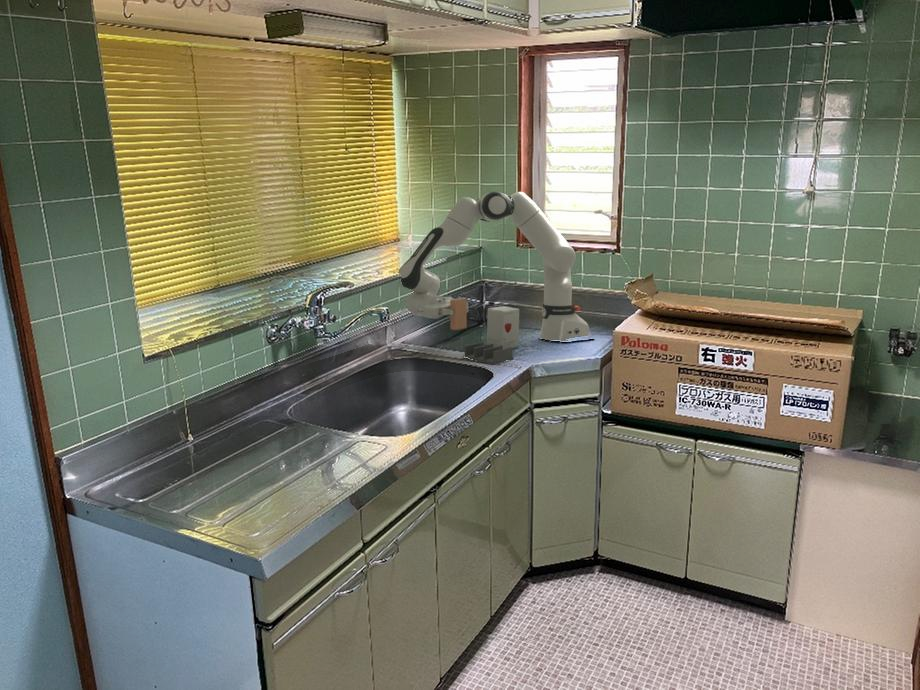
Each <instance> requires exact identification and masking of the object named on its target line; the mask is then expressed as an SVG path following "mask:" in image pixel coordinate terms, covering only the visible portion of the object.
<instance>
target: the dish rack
mask: <svg viewBox="0 0 920 690" xmlns="http://www.w3.org/2000/svg"><path fill="white" fill-rule="evenodd" d="M513 350H514V349H513V347H510V348H506V349H503V345H501V346H497V347H493V344H488V345H487V344H485V341H481V342H475V343H471V344H467V345H464V355H463V356H465V357H468V358H470V359H473V360H477V361H476V362H478V361H479V362H478V363H482V362H483V363H484V364H488V365H493V366H494V365H497V364H502V363H505V362H504V361H506V360H510V361H513V360H514V356H513ZM473 360H472V361H473ZM501 362H502V363H501ZM506 362H507V361H506ZM483 363H482V364H483Z"/></svg>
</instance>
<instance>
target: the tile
mask: <svg viewBox="0 0 920 690" xmlns="http://www.w3.org/2000/svg"><path fill="white" fill-rule="evenodd" d="M467 302H468V300H467V298H465V297H457V298H454V299H451V300H450V309H453V310H454V311H455V312H454V313H455V314H453V315H449V317H450V320H449V321H450V324H449V325H450V330H453V331H458V330H463V329H467V326H468V323H467V321H468V320H467V317H468V316H467V315H468V314H467V313H468V312H467Z"/></svg>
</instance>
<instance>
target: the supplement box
mask: <svg viewBox="0 0 920 690" xmlns="http://www.w3.org/2000/svg"><path fill="white" fill-rule="evenodd" d="M486 322H487V323H486V324H487V325H486V328H487V329H486V331H487V332H486V345H488V344H493V347H497V346H501V345H503V349H506V348H510V347H513V348H519V336H520V308H516V307H510V306H496V307H495V306H494V307H488V308H487V321H486Z"/></svg>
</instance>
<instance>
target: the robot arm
mask: <svg viewBox="0 0 920 690" xmlns="http://www.w3.org/2000/svg"><path fill="white" fill-rule="evenodd" d="M504 218H508V219H510V220H511V221H513V223H514V224H515V226H516V228H518V229H519V231H520V232H521V233H522V235H523V236H524V237H525V239H527V241H528V242H529V243H530V244H531V246H533V247H534V248H535V250H536V251H537V252H538V254H540V256H541V257H542V261H543V262H542V265H543V267H542V269H543V304H542V312H541V315H542V316H541V317H542V323H541V329H540V333H539V336H538V338H539V337H540V338H542V339H546V340H561V341H568V340H566V339H569V338H575V337H581V336H588V335H590V334H591V333H590V327H589V324H588V323H587V321H585V320H584V319H583V318H582V317H580V316H579V315H578V314H577V313H576V312H580V310H581V307H580V306H578V305H574V304H572V302H573V301H572V297H573V294H572V293H573V283H572V272H571V270H572V267H574V265H575V263H576V260H577V258H576V257H577V256H576V255H577V254H576V252H575V250H574V248H573V247H572V246H571V244H570V243H569V242H568V241H567V240H566V239H565V237H564V236H563V235H562V234H561V233H560V232H559V230H558V229H557V228H556V227H555V226H554V225H553V224H552V222H551V221H550V219H548V217H547V216H546V215H545V213H544V212H543V211H542V210H541V209H540V208H539V206H538V205H537V203H535V201H533V200H532V198H531V197H529V196H528V195H527V194H526V193H525V192H523V191H517V192H514V193H512V194H511V195H508V194H505V193H503V192H500V191H490V192H487V193H485V194H484V195H483V196H481V197H480V198H477V199H473V198H471V197H468V196H467V197H466V196H463V197H461V198H459V199H458V200H457V202H456V203H455V204H454V205H453V207H452V208H451V209H450V211H449V212H448V214H447V216H446V217H445V218H444V219H445V220H444V221H443V222H442V223H441V224H440V225H439V226H438V227H434V228H433V229H431V230H430V231H429V232H428V233H427V235H426V236H425V237H424V239H423V240H422V241H421V243H420V244H419V245H418V247H417V248H416V249H415V250H414V252H413V254H412V255H411V256H410V257H409V258H408V260H407V261H406V262H404V263H403V264H402V265H401V267H400V268H399V269H398V273H400V274H401V282H402V285H403V286H402V285H401V286H402V287H403V288H406V289H408V290H410V289H411V290H413V291H414V292H413V293H411V294H410V295H409V297H408V299H407V305H406V306H407V309H408V310H409V311H410V312H411V313H412V314H413V315H412V316H414V317H415V316H416V317H423V318H425V319H426V318H428V319H433V320H437V319H440V318H441V317H444V316H448V315H449V316H450V315H453V314H455V313H454V312H455V311H454V310H453V309H450V300H451V299H455V298H453V297H452V296H448V295H445V296H444V295H443V296H442V295H439V293H440V290H441V286H442V283H441V282H442V281H441V279H440V277H439V276H438V275H437V274H435V273H433V272H432V271H430V270H428V269H427V268H424V265H425V264H426V263H427V261H428V260H429V259H430V257H431V256H432V254H433V253H434V252H435V251H436V250H437V248H440V247H451V248H452V247H458V246H461V245H464V244H465V242H466V241H467V240H468V238H469V237H470V235H471V233H472V232H473V229H474V227H475V226H476V224H477V223H478V222H479V221H484V222H486V223H487V222H488V223H490V222H492V223H493V222H498V221H500V220H502V219H504ZM467 313H469V302H468V301H467Z"/></svg>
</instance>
